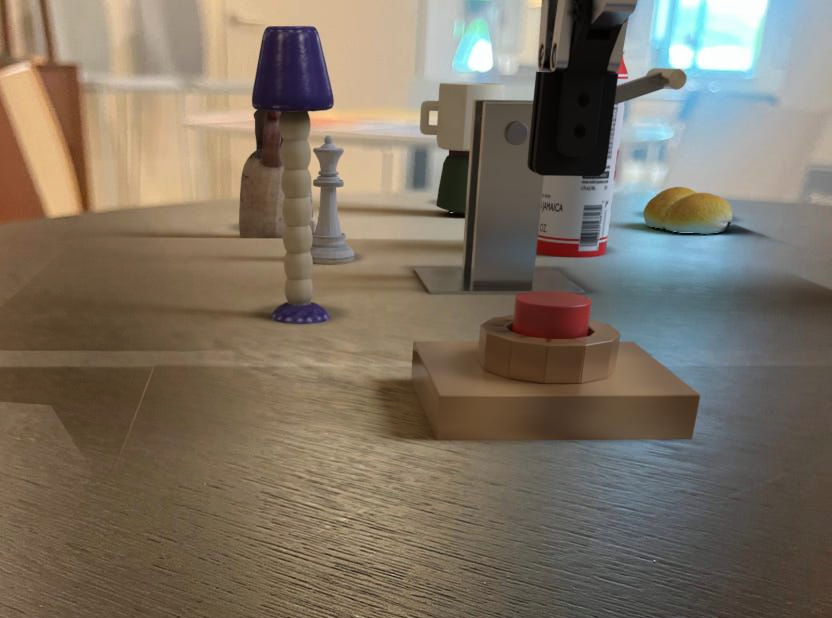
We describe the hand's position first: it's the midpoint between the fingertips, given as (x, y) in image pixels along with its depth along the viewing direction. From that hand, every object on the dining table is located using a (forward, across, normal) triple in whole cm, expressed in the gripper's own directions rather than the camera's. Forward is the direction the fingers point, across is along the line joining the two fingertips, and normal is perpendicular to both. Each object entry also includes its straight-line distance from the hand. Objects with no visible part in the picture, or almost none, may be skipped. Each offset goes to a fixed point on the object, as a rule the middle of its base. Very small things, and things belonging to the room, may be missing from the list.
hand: (565, 173), depth 46 cm
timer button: (+7, 0, 0) cm, 7 cm away
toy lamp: (+11, +16, +12) cm, 23 cm away
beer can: (+11, +42, -12) cm, 45 cm away
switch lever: (-1, +28, -8) cm, 29 cm away
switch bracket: (+11, +28, -3) cm, 30 cm away
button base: (+11, 0, 0) cm, 11 cm away
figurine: (+11, +53, +13) cm, 56 cm away
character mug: (+11, +73, -8) cm, 74 cm away
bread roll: (+11, +63, -30) cm, 71 cm away
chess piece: (+11, +37, +9) cm, 40 cm away
